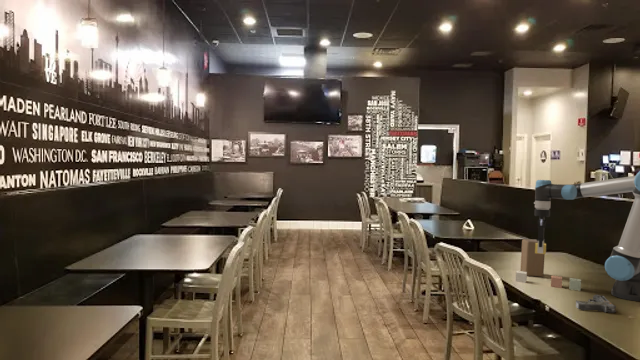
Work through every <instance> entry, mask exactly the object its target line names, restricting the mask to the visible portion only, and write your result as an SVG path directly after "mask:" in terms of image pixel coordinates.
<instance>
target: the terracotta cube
mask: <svg viewBox="0 0 640 360" xmlns="http://www.w3.org/2000/svg"><path fill="white" fill-rule="evenodd" d="M550 277H551V279H550V287H551V288H558V289H562V288H563V287H562V286H563V276H560V275H551V276H550Z"/></svg>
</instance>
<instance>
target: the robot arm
mask: <svg viewBox="0 0 640 360" xmlns="http://www.w3.org/2000/svg"><path fill="white" fill-rule="evenodd" d="M534 189H535V190H534V193H535V195H534V202H533V204H534V208H535V209H534V216H535V217H538V218H539V219H537V228H538V229H537V234H538V235H537V239H536V240H537V241H538V249H537V253H543V244H544V242H545V240H546V237H545V228H546V223H547V219H545V218H549V217H551V210H550V209H551V201H552V200H551V199H558V200H566V201H567V200H569V201H570V200H575V199H580V198H589V197H598V196H605V195H606V196H607V195H614V194H623V193H624V194H626V193H632V194H633V196H634V200H633V203H632V206H631V209H630V211H629V214H628V216H627V220H626V223H625V226H624V228H623V231H622V233H621V236H620V239H619V242H618V245H616V246H614V247H613V248H612V251H611V254H610V256H609V257H608V258H607V259H606V260H605V262H604V270H605V272H606V274H607V276H609V277H610V278H612V279H614V280H615V281H614V282H613V285H612V288H611V293H610V294H611V295H612V296H613V297H616V298H619V299H623V300H628V301H634V302H640V170H639V171H638V172H637V173H636V175H633V176H623V177H617V178H610V179H603V180H595V181H589V182H582V183H581V182H580V183H575V184H574V183H573V184H557V183H556V184H555V183H552V180H550V179H549V180H548V179H537V180H536V181H535V187H534Z"/></svg>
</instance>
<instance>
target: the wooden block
mask: <svg viewBox="0 0 640 360" xmlns="http://www.w3.org/2000/svg"><path fill="white" fill-rule="evenodd" d="M536 243H538V241H537V239H531V238H522V240H521V255H520V256H521V257H520V270H519V271H523V272H527V277H539V278H542V277H544V273H545V272H544V269H545V255H546V254H537V253H535V244H536ZM544 244H546V242H545V241H544Z"/></svg>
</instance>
